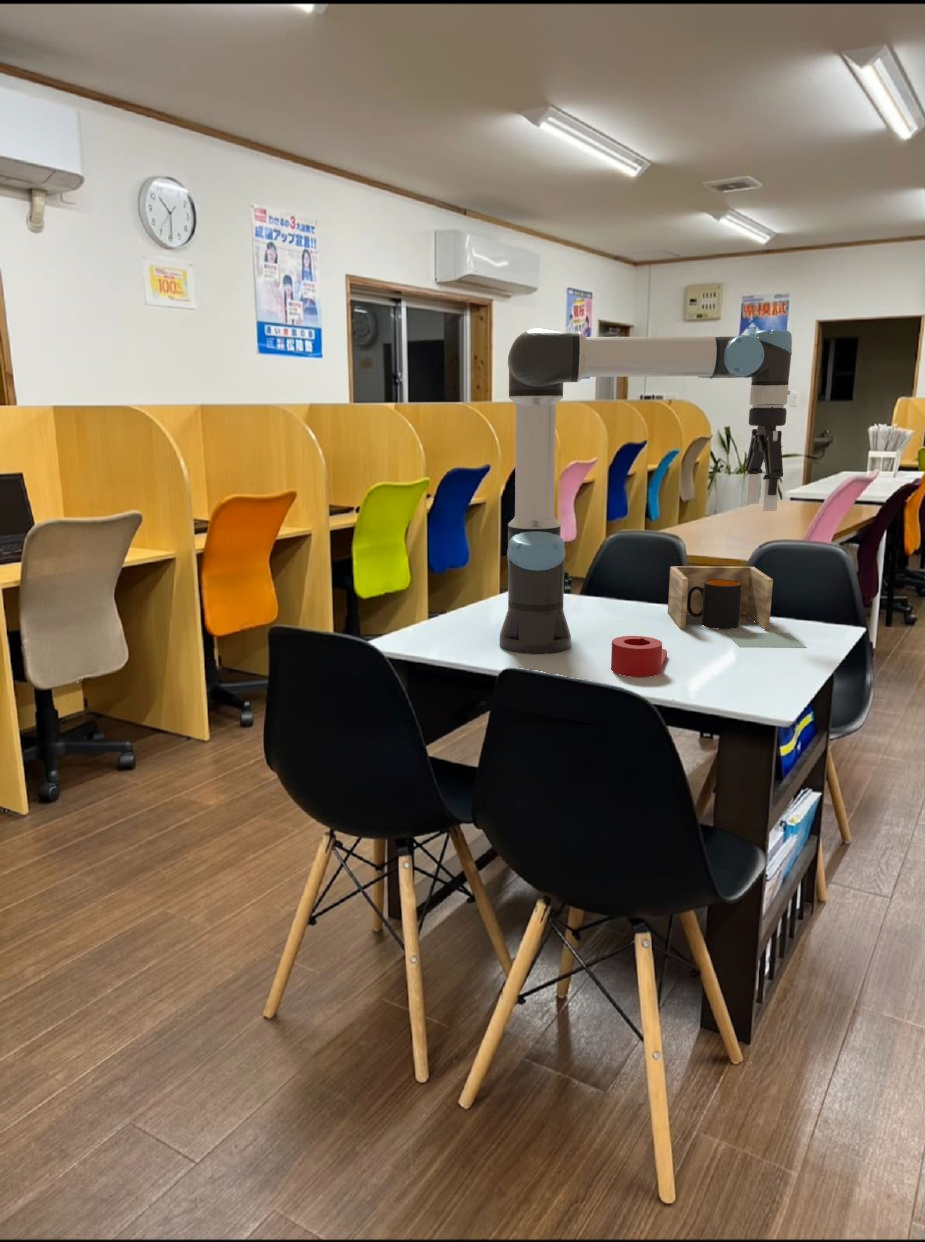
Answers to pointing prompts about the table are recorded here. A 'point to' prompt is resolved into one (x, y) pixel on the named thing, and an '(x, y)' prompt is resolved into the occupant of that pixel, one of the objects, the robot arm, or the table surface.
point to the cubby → (752, 580)
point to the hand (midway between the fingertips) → (760, 507)
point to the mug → (718, 603)
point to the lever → (637, 656)
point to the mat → (765, 640)
